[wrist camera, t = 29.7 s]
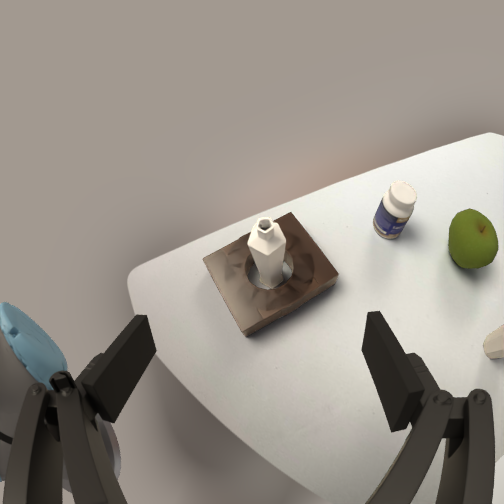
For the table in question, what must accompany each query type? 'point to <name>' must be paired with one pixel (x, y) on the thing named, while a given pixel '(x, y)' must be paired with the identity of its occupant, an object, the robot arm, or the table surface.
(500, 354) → the faceted bottle
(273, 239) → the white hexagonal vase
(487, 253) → the apple
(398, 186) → the pill bottle
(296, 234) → the hole plate
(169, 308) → the table surface
